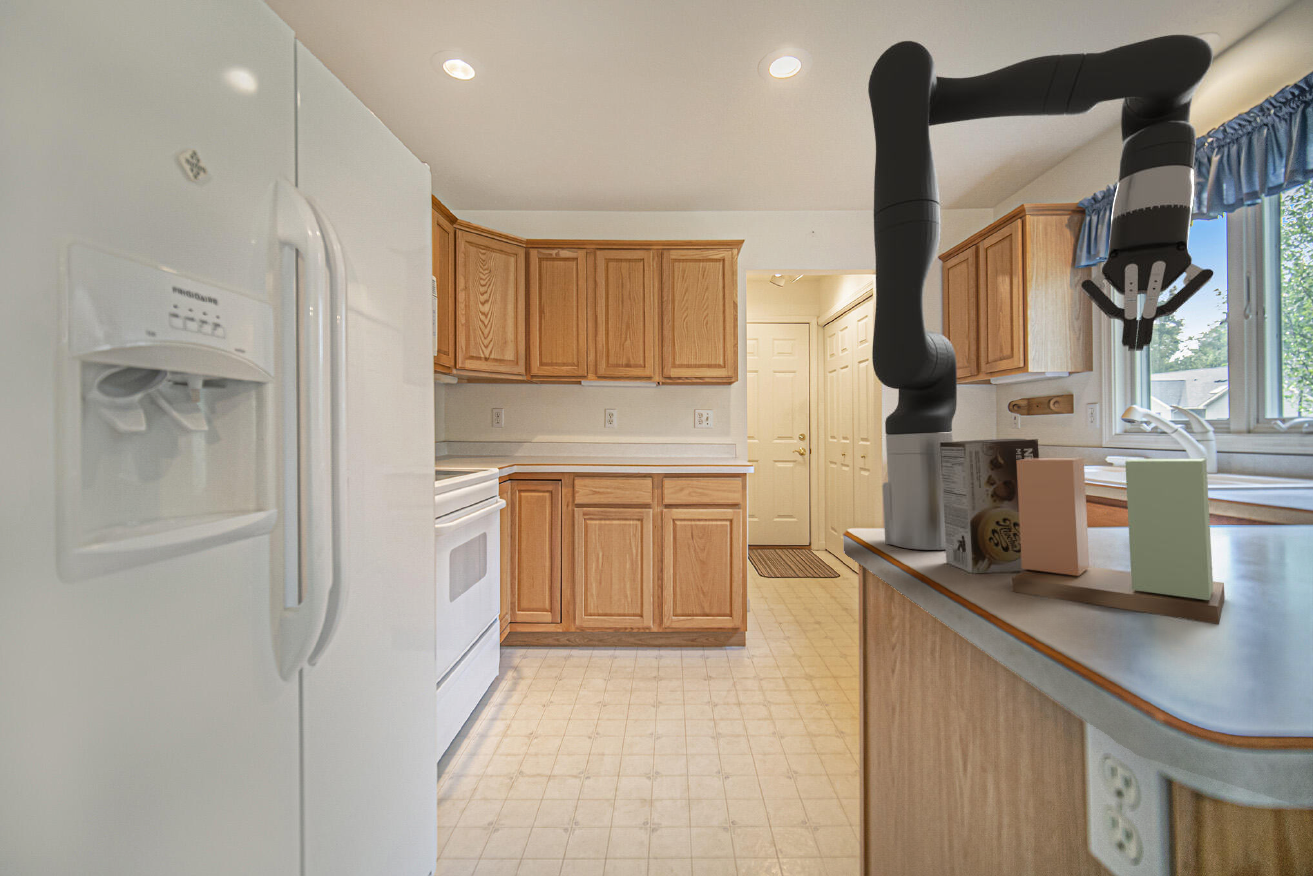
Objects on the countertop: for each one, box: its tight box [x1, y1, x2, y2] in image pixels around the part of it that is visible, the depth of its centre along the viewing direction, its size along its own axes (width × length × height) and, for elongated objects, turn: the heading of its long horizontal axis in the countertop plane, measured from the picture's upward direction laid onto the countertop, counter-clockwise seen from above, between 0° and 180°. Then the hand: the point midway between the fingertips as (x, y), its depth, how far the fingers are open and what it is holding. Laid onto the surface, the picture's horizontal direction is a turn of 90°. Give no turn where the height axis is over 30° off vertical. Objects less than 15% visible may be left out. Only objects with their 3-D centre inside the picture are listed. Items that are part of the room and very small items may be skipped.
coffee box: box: [940, 438, 1040, 574], centre depth 67 cm, size 9×6×16 cm
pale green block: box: [1124, 458, 1214, 600], centre depth 49 cm, size 5×5×12 cm
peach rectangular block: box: [1017, 457, 1090, 576], centre depth 58 cm, size 5×5×12 cm
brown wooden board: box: [1011, 566, 1226, 625], centre depth 54 cm, size 15×10×2 cm, turn 41°
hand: (1135, 349), depth 68 cm, fingers closed
